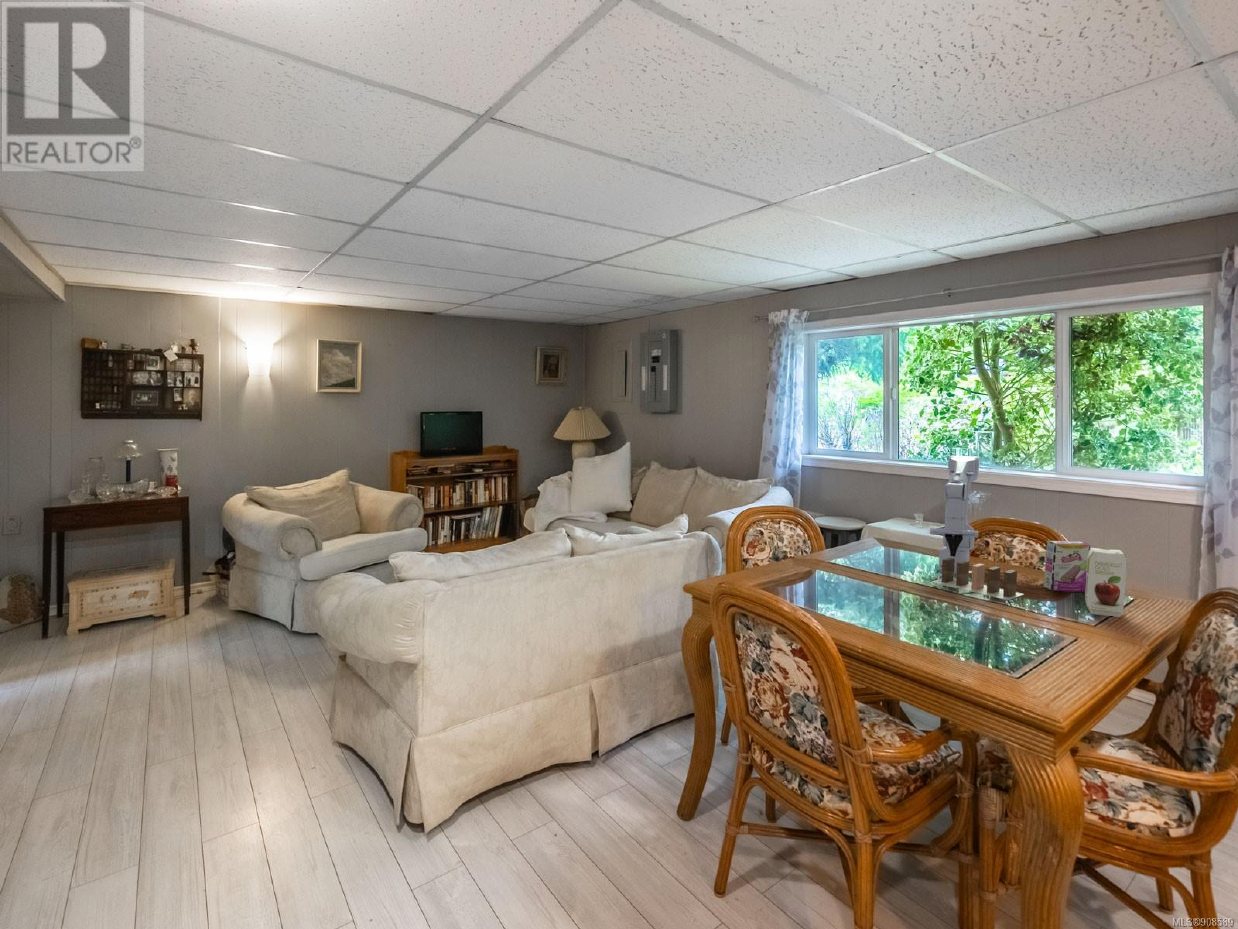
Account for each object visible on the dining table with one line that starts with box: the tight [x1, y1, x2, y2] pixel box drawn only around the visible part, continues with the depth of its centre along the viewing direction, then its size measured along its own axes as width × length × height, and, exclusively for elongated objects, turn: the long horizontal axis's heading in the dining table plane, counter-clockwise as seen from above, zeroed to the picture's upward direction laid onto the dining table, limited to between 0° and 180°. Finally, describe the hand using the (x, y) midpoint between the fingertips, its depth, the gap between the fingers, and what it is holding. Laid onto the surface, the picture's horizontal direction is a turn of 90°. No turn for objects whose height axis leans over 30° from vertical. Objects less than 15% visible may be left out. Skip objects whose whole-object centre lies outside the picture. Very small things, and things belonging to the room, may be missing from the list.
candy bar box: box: [1043, 540, 1091, 593], centre depth 201 cm, size 11×5×16 cm, turn 84°
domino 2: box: [955, 560, 970, 586], centre depth 207 cm, size 2×5×8 cm, turn 123°
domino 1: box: [941, 558, 955, 583], centre depth 211 cm, size 2×5×8 cm, turn 123°
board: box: [931, 577, 1025, 601], centre depth 203 cm, size 25×11×1 cm, turn 33°
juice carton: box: [1084, 547, 1127, 618], centre depth 178 cm, size 8×9×19 cm
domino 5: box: [1002, 569, 1018, 598], centre depth 194 cm, size 2×5×8 cm, turn 123°
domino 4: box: [986, 566, 1001, 594], centre depth 198 cm, size 2×5×8 cm, turn 123°
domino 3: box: [971, 563, 986, 590], centre depth 203 cm, size 2×5×8 cm, turn 123°
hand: (952, 555), depth 209 cm, fingers closed
